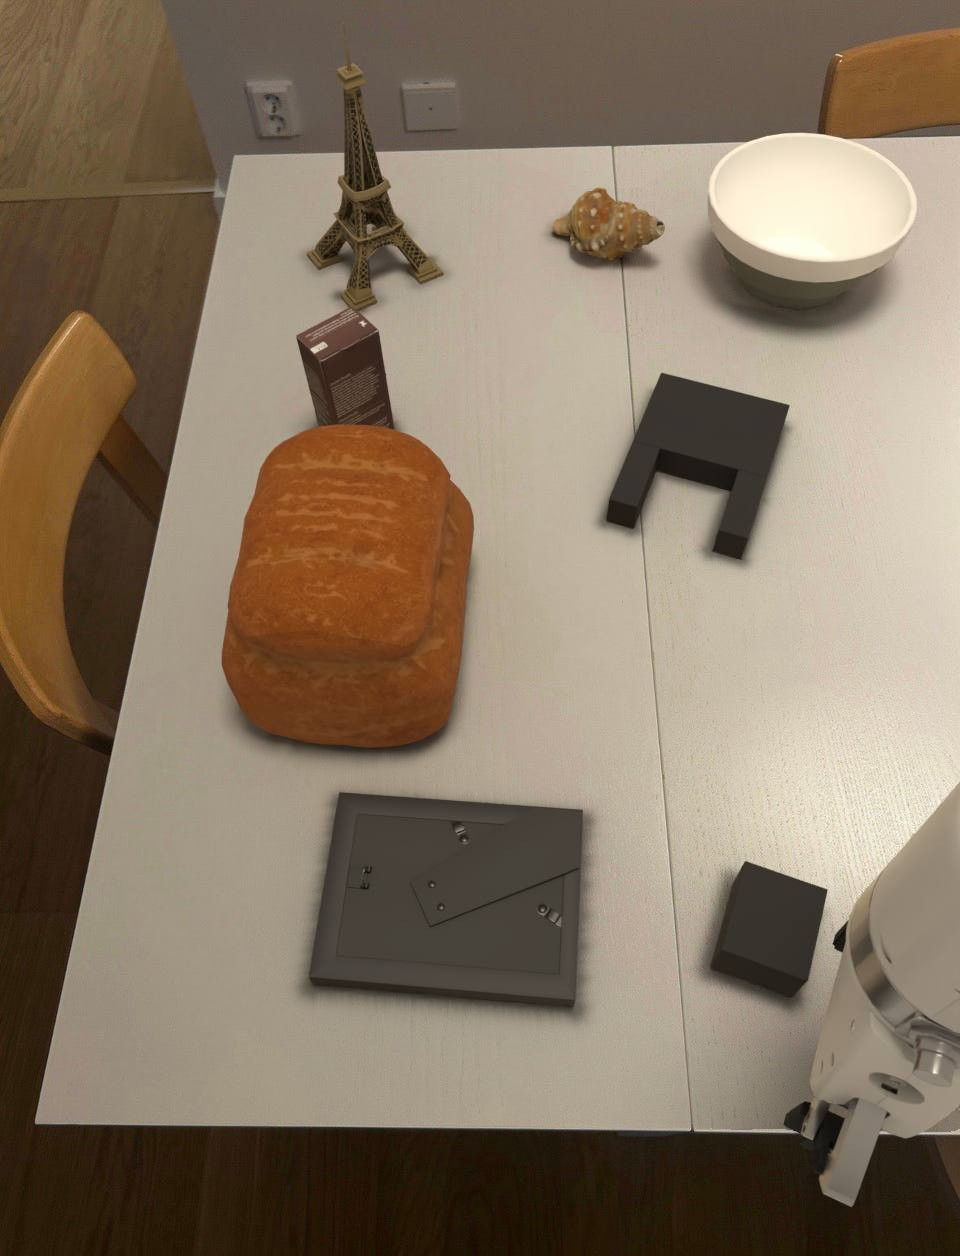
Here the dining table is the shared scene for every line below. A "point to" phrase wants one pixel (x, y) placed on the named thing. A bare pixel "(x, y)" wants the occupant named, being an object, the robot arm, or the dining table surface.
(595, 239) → the seashell
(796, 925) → the dark grey square block
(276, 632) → the bread
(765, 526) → the dining table surface
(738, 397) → the forked base block
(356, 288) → the eiffel tower
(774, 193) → the bowl
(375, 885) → the picture frame
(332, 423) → the box
